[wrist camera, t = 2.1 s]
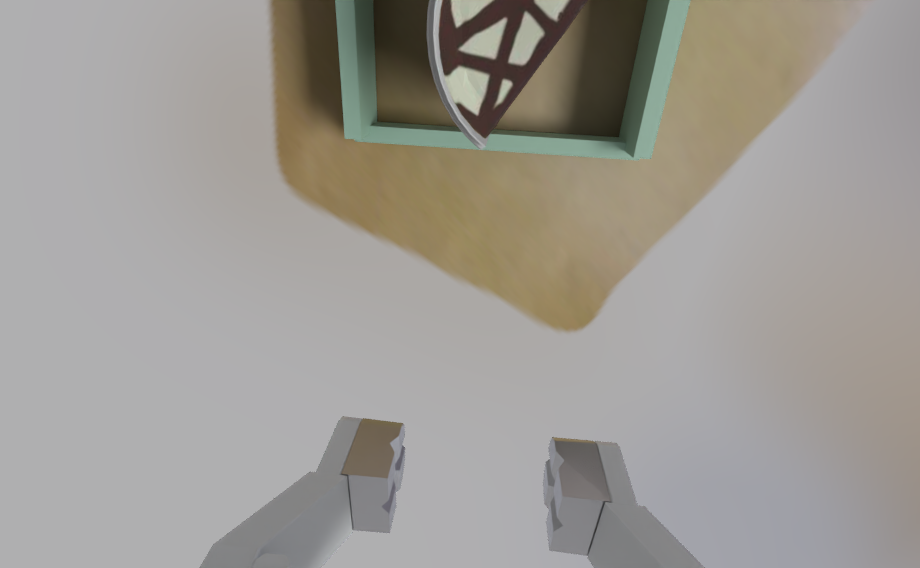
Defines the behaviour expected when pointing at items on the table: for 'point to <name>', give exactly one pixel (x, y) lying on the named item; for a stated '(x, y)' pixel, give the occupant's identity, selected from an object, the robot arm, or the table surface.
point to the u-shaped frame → (632, 144)
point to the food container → (490, 54)
